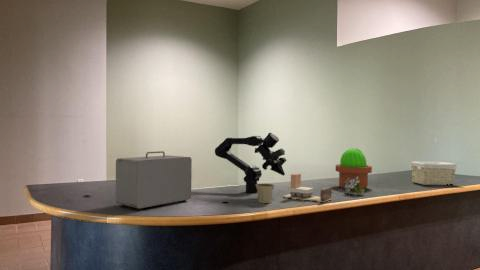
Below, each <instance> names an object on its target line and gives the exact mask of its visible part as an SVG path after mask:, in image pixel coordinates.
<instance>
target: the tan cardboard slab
mask: <svg viewBox="0 0 480 270" xmlns="http://www.w3.org/2000/svg"><path fill="white" fill-rule="evenodd" d="M283 197H285V198H284V199H288V198H292V199H291V200H296V199H300V200H299V201H304V200H310V201H309V202H312V201H318V202H317V203H320V202H326V201H328V200H331V199H333V198H332V187H331V186H330V187H329V186H327V187H324V188H321V189H320V196H317V195H316V196H315V195H311V196H309V197H306V198H304V197H303V196H300V197H297V195H295V196H291V195H290V193H288V194H284V195H282V198H283ZM331 201H332V200H331ZM328 202H329V201H328ZM326 203H327V202H326Z"/></svg>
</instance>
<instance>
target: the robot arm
mask: <svg viewBox="0 0 480 270" xmlns="http://www.w3.org/2000/svg"><path fill="white" fill-rule="evenodd" d="M279 141H280V138H279V137H278V136H277V135H276V134H274V133H273V132H269V133H268V134H267V135H266V136H265V138H263V137H262V136H261V135H252V136H247V137H227V138H225V139H224V140H223V141H222V142H221V143H220V144H219V145H218V146H217V147H215V149H214V154H215V156H217V157H218V158H222V159H225V160H227V161H228V162H229V163H231V164H233V165H234V166H236V167H237V168H239V169H240V171H243V173H244V175H245V176H244V177H243V178H242V179H243V182H244V183H245V191H244V193H246V194H250V193H251V194H258V192H257V188H256V184H258V182H259V181H260V178H261V177H262V174H263V173H262V170H261V169H260V167H258V166H257V165H255V164H248V163H246V162H245V161H243V160H242V159H240V158H239V157H237V156H236V155H235V154H233V153H232V152H231V149H232V147H233V146H234V145H247V146H250V147H255V148H254V154H260V156H261V157H262V160H263V161H265V162H263V164H262V165H261V167H262V169H263V171H267V170H268V167H270V169H269V170H270V171H273V172H275V173H276V174H279V175H281V176H285V175H286V173H285V170H284V169H283V165H284V164H285V163H286V162H287V159H286V158H285V157H281V156H284V155H286V153H285V152H286V150H284V149H283V148H279V149H277V150H275V151H273V150H271V149H272V148H274V147H275V146H276V145H277V143H278V142H279Z"/></svg>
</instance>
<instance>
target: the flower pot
mask: <svg viewBox="0 0 480 270" xmlns="http://www.w3.org/2000/svg"><path fill="white" fill-rule="evenodd" d="M275 186H276V185H275V184H273V183H272V184H271V183H257V184H256V188H257V199H258V203H259V204H264V203H265V204H270V203H272V199H273V193H274V192H273V191H274V188H275Z"/></svg>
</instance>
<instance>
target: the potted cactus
mask: <svg viewBox="0 0 480 270" xmlns="http://www.w3.org/2000/svg"><path fill="white" fill-rule="evenodd" d="M372 171H373V167H372V166H371V165H369V164H368V165H367V160H366V156H365V154H364V153H363V151H362V150H360V149H358V148H350V149H346V150H345V151H344V152H343V153H342V155H341V158H340V163H339V164H335V172H338V186H339V188H342V187H344V188H343V189H346V188H345V186H346V184H347V183H348V182H347V183H346V184H345V182H346V180H347V179H350V180H352V179H354V178H356V177H358V180H360V182H359V186H360V187H363V188H365V189H367V188H368V184H369V183H368V182H369V174H371V173H372ZM350 180H349V181H350ZM358 180H357V181H358ZM364 186H365V187H364ZM366 186H367V188H366ZM352 190H355V188H353V189H352Z"/></svg>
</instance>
